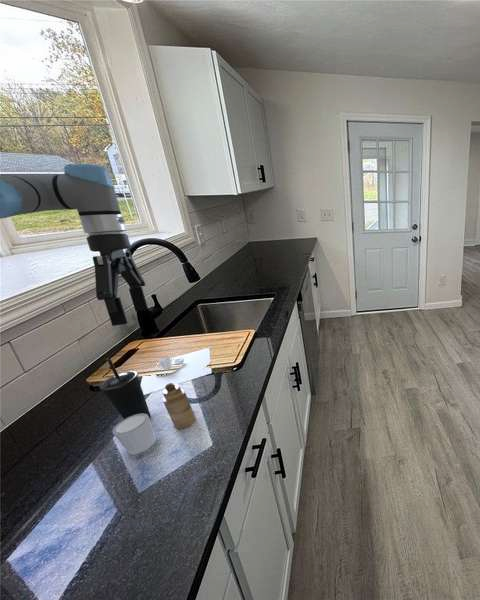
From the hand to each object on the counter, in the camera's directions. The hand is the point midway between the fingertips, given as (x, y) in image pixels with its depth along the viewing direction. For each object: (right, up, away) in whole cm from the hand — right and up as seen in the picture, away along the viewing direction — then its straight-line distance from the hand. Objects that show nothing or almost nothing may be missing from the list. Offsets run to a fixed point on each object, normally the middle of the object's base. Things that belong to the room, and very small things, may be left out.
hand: (131, 317), depth 81 cm
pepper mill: (+12, -28, +2) cm, 31 cm away
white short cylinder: (+6, -32, -4) cm, 32 cm away
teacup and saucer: (-6, -20, +26) cm, 33 cm away
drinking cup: (-1, -29, +4) cm, 29 cm away
